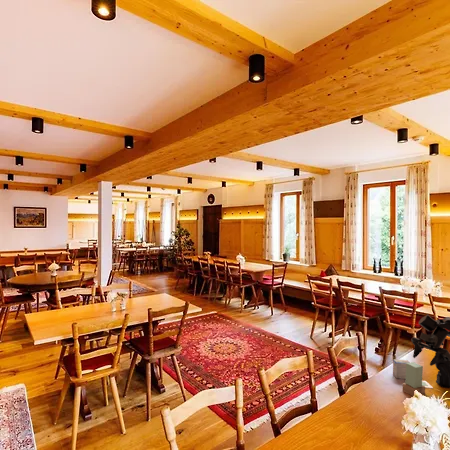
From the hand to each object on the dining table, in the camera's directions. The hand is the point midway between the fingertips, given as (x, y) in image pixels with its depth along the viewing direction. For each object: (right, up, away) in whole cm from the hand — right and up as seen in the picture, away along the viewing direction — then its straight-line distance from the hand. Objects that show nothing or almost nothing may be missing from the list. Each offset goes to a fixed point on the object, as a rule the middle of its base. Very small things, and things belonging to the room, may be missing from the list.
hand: (421, 361), depth 160 cm
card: (+2, -14, +3) cm, 14 cm away
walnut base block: (-7, -14, -5) cm, 16 cm away
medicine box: (-4, -14, +11) cm, 18 cm away
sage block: (-7, -10, -5) cm, 13 cm away
